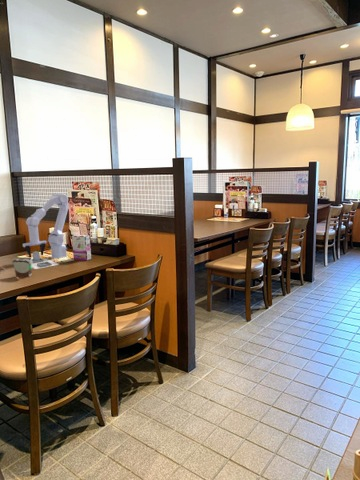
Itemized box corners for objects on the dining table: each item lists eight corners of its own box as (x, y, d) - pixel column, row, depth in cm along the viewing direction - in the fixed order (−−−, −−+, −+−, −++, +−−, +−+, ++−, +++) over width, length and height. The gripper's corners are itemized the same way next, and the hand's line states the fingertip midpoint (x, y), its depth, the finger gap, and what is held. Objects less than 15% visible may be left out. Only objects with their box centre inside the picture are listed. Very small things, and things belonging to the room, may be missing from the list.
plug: (39, 260, 233) (38, 250, 231) (40, 261, 229) (39, 251, 228) (33, 261, 231) (32, 251, 230) (33, 262, 228) (32, 252, 226)
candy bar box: (91, 259, 235) (90, 235, 232) (87, 260, 231) (85, 236, 227) (78, 258, 239) (76, 234, 236) (73, 259, 235) (71, 235, 232)
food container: (39, 274, 201) (37, 257, 199) (31, 277, 196) (29, 260, 194) (21, 273, 205) (20, 256, 203) (13, 276, 200) (11, 259, 198)
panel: (45, 259, 239) (45, 256, 238) (59, 265, 221) (59, 262, 220) (22, 263, 229) (22, 260, 229) (35, 270, 211) (34, 267, 211)
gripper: (43, 233, 234) (45, 253, 237) (20, 236, 225) (22, 257, 228) (46, 234, 229) (48, 254, 232) (23, 237, 220) (26, 258, 223)
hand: (36, 256), depth 229 cm, fingers open, 7 cm apart
